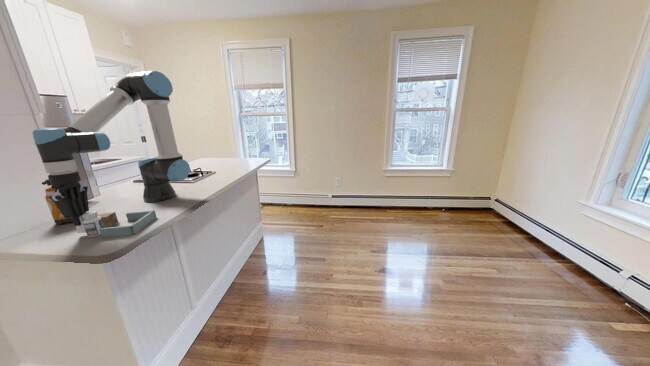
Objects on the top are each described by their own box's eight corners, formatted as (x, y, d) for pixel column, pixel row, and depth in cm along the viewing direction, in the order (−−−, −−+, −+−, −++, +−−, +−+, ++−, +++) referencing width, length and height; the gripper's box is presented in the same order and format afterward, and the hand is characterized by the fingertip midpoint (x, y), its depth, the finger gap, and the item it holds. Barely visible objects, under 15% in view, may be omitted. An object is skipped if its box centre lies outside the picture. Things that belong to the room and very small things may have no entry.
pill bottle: (101, 230, 93) (94, 209, 91) (109, 231, 92) (102, 211, 89) (84, 236, 89) (76, 215, 86) (92, 238, 87) (85, 216, 84)
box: (129, 220, 102) (127, 212, 101) (156, 217, 104) (154, 210, 103) (102, 237, 87) (99, 229, 86) (134, 234, 89) (132, 226, 88)
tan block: (105, 223, 100) (102, 213, 98) (118, 222, 100) (115, 212, 99) (96, 229, 95) (92, 217, 94) (110, 227, 96) (106, 216, 94)
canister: (56, 221, 104) (39, 178, 99) (90, 213, 112) (76, 173, 106) (54, 227, 98) (36, 182, 93) (90, 218, 106) (76, 176, 100)
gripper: (67, 169, 88) (86, 225, 95) (31, 177, 76) (56, 241, 82) (89, 168, 89) (107, 223, 96) (57, 176, 77) (80, 239, 83)
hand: (83, 231), depth 89 cm, fingers closed
